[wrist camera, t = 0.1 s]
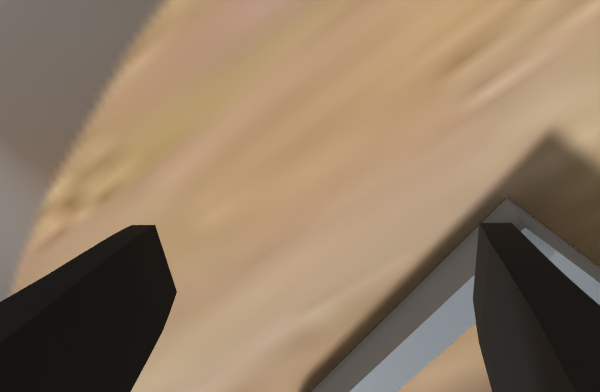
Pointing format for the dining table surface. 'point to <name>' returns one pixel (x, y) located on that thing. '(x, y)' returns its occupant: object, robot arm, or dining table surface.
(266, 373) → the dining table surface
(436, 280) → the box
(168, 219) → the dining table surface
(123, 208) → the dining table surface
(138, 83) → the dining table surface
